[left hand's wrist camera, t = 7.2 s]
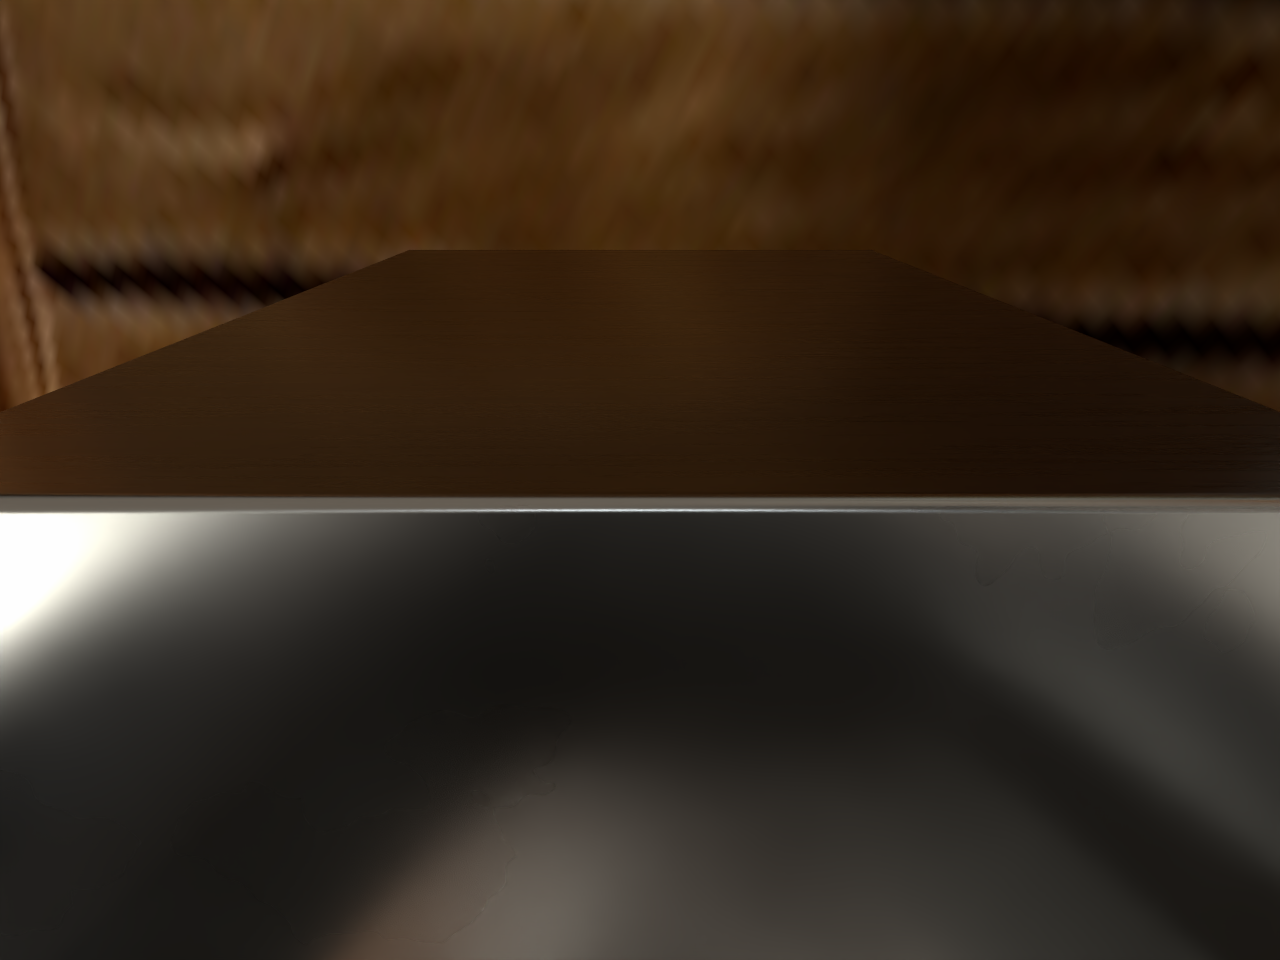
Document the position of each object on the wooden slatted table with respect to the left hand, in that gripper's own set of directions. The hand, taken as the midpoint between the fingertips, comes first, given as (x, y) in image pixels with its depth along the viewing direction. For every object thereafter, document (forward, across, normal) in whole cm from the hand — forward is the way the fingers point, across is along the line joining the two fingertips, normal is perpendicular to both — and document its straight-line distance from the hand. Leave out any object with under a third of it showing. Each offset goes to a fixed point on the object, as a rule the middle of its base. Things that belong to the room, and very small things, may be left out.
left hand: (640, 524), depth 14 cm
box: (+2, 0, -10) cm, 10 cm away
